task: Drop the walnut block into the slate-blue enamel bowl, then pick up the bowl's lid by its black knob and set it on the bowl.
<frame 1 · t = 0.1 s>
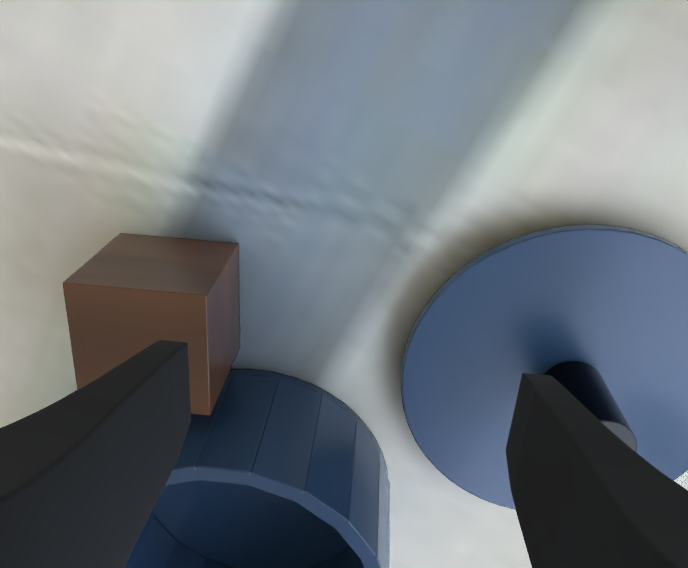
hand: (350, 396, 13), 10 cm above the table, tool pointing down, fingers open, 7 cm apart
block: (182, 292, 24), on the table
bowl: (257, 480, 28), on the table
lid: (566, 380, 24), point 1 cm above the table
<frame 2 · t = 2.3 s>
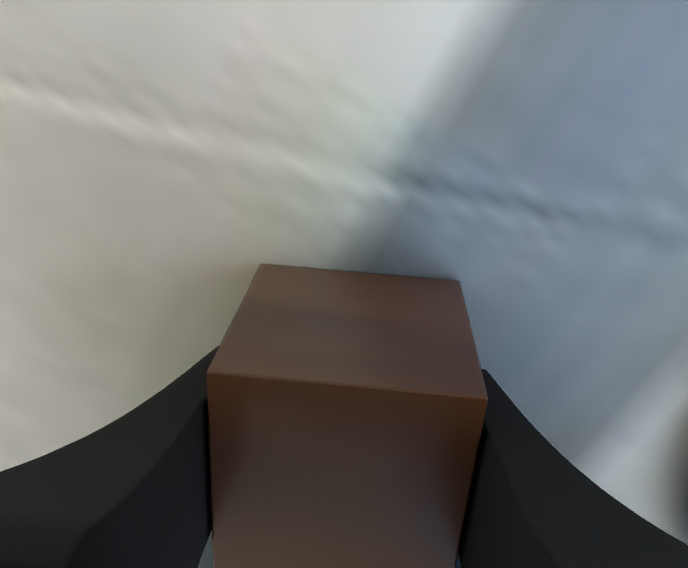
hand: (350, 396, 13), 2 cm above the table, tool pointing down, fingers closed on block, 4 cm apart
block: (352, 357, 15), on the table, touching gripper
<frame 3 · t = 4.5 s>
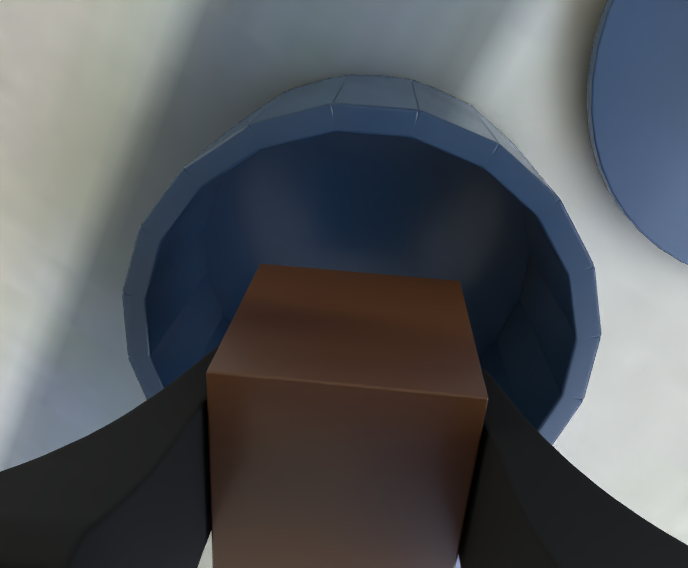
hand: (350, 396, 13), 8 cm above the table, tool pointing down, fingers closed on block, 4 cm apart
block: (352, 357, 15), point 6 cm above the table, touching gripper
bowl: (364, 257, 21), on the table
when the fingers open (2 cm above the table, at t = 6.7 s): block stays where it is, resting on bowl.
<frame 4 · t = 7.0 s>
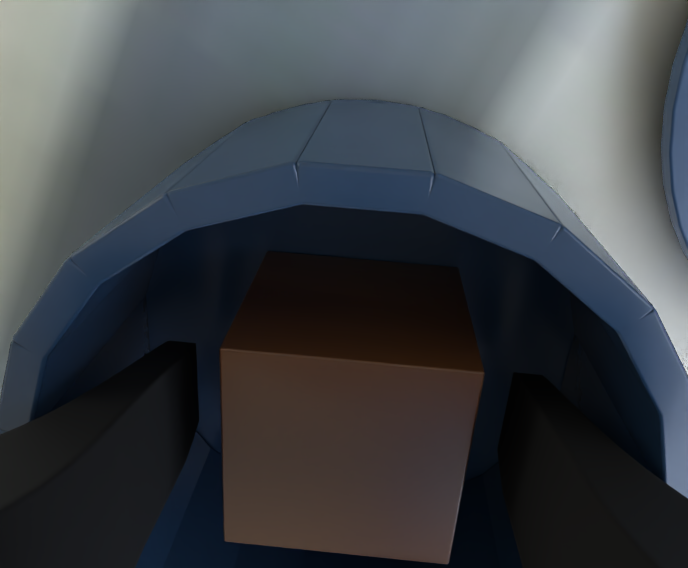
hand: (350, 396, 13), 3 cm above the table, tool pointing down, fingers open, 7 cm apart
block: (355, 341, 15), resting on bowl
bowl: (356, 334, 16), on the table
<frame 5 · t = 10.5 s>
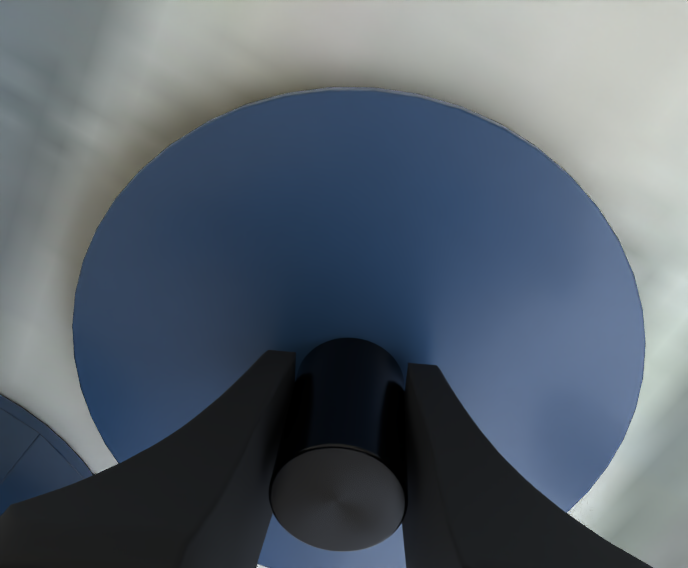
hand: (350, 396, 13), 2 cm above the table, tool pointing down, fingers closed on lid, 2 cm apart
lid: (351, 371, 14), point 1 cm above the table, touching gripper
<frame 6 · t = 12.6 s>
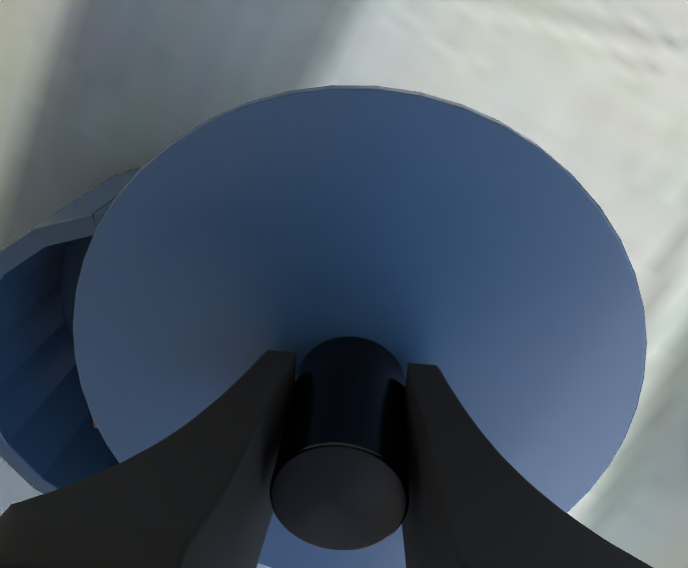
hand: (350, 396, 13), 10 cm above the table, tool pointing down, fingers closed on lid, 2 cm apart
bowl: (197, 308, 24), on the table
lid: (352, 370, 14), point 9 cm above the table, touching gripper
when the fingers open (7 cm above the table, at t = 14.7 s): lid stays where it is, resting on bowl.
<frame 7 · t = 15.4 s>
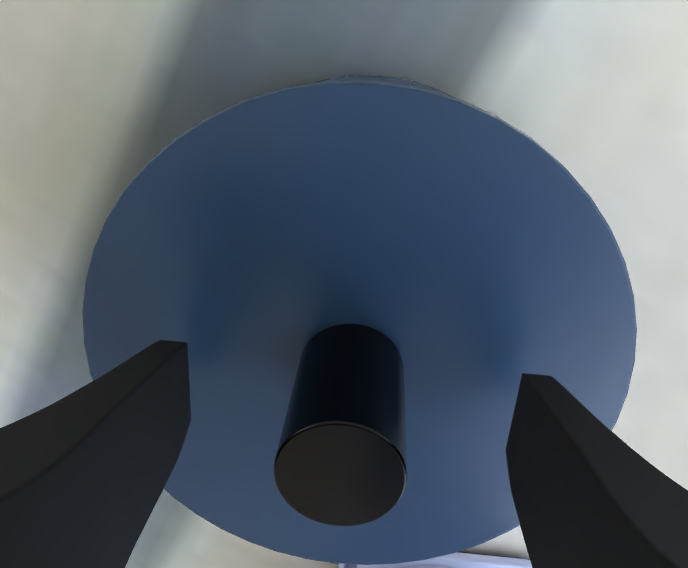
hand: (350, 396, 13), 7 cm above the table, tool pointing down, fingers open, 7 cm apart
bowl: (363, 263, 20), on the table
lid: (352, 357, 15), point 6 cm above the table, touching bowl
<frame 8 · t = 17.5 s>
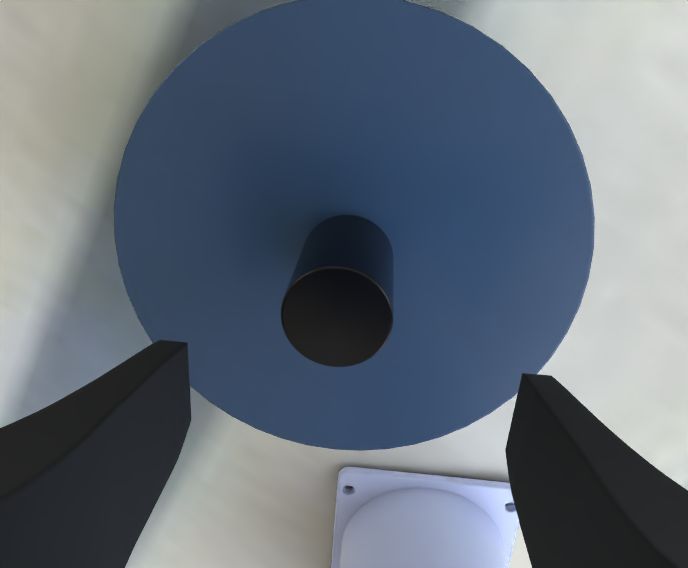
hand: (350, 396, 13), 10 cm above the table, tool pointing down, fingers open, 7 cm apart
lid: (349, 251, 17), point 6 cm above the table, touching bowl
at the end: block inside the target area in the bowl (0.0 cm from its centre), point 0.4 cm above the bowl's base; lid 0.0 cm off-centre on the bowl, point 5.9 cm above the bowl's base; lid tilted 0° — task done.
